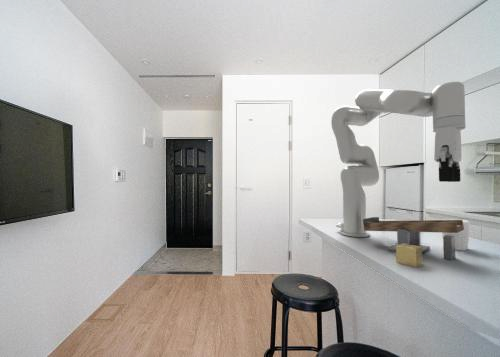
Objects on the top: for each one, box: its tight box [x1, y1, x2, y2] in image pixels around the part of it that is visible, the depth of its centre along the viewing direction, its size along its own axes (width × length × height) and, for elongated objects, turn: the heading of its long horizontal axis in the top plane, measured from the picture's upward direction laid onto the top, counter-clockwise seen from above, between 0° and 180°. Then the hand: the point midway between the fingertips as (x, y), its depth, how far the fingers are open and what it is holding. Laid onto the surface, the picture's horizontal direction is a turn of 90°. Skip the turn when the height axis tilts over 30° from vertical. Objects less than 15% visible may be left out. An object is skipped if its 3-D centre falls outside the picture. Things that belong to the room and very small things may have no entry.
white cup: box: [440, 218, 471, 251], centre depth 86 cm, size 8×8×10 cm
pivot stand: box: [387, 228, 431, 254], centre depth 82 cm, size 8×14×8 cm, turn 127°
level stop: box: [442, 235, 456, 261], centre depth 74 cm, size 2×4×7 cm, turn 127°
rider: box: [395, 243, 423, 268], centre depth 69 cm, size 5×5×5 cm
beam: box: [363, 216, 464, 233], centre depth 83 cm, size 28×8×5 cm, turn 37°
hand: (450, 181), depth 71 cm, fingers open, 9 cm apart
